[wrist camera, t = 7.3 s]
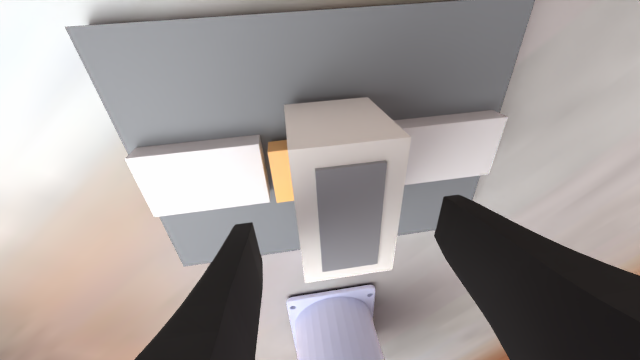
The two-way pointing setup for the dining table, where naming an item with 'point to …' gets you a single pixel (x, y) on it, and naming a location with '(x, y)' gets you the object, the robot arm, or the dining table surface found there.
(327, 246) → the block
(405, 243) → the dining table surface
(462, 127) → the rail board
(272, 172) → the block
